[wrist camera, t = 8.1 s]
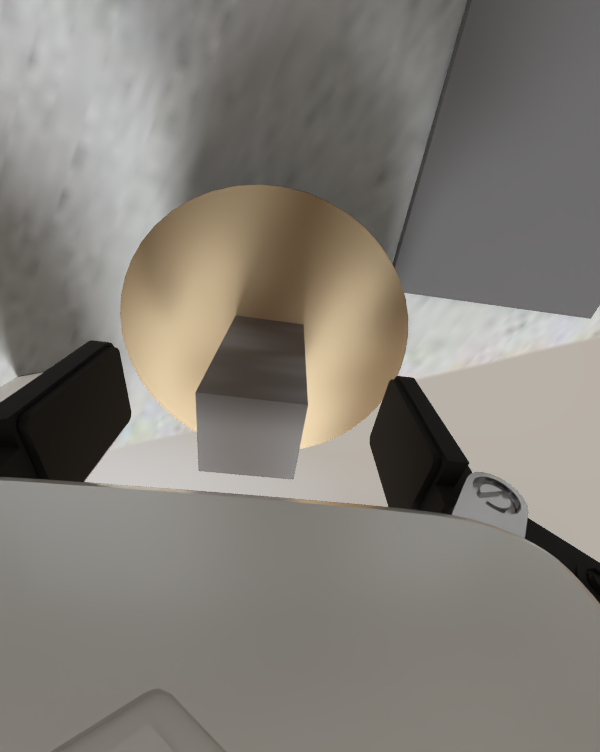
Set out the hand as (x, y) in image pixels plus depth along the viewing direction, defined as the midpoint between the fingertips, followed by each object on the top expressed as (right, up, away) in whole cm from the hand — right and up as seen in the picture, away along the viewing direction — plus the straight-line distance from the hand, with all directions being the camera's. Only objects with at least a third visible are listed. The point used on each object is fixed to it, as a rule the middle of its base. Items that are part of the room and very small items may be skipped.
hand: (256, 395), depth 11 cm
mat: (+15, +12, +6) cm, 20 cm away
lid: (0, +2, +4) cm, 5 cm away
